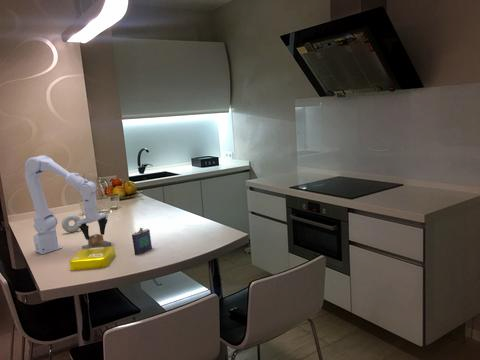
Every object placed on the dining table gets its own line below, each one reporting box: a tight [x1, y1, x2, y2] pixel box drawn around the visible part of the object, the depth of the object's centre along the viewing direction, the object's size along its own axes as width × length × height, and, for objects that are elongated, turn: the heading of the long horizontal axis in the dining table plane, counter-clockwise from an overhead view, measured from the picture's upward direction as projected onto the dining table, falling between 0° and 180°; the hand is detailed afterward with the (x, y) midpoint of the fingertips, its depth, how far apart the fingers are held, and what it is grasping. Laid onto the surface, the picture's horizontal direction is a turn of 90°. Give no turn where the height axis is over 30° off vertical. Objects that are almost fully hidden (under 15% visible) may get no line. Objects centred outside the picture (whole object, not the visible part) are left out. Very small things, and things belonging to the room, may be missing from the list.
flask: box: [131, 227, 153, 256], centre depth 178 cm, size 9×3×11 cm, turn 144°
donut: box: [61, 213, 82, 234], centre depth 217 cm, size 10×4×10 cm, turn 121°
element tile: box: [68, 245, 116, 272], centre depth 170 cm, size 15×15×5 cm
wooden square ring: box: [87, 233, 105, 247], centre depth 188 cm, size 5×5×4 cm
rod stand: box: [81, 234, 112, 249], centre depth 188 cm, size 10×8×6 cm
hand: (95, 236), depth 188 cm, fingers open, 7 cm apart
